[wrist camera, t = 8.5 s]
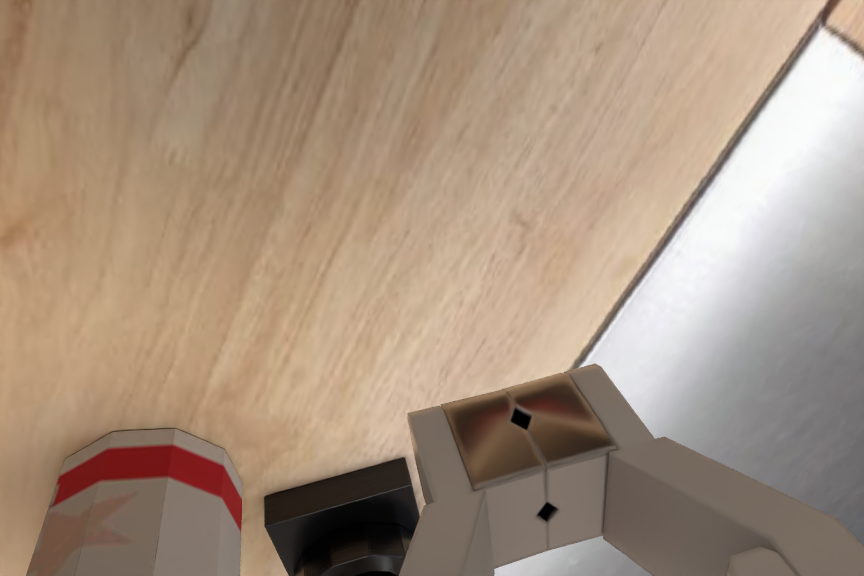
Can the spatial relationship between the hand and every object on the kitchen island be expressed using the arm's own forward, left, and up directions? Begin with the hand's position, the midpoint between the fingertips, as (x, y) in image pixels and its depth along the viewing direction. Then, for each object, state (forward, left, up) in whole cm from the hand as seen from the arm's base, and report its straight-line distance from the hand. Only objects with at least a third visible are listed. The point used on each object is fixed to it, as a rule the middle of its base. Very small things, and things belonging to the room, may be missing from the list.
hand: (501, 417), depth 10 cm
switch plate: (-5, -22, -15) cm, 27 cm away
